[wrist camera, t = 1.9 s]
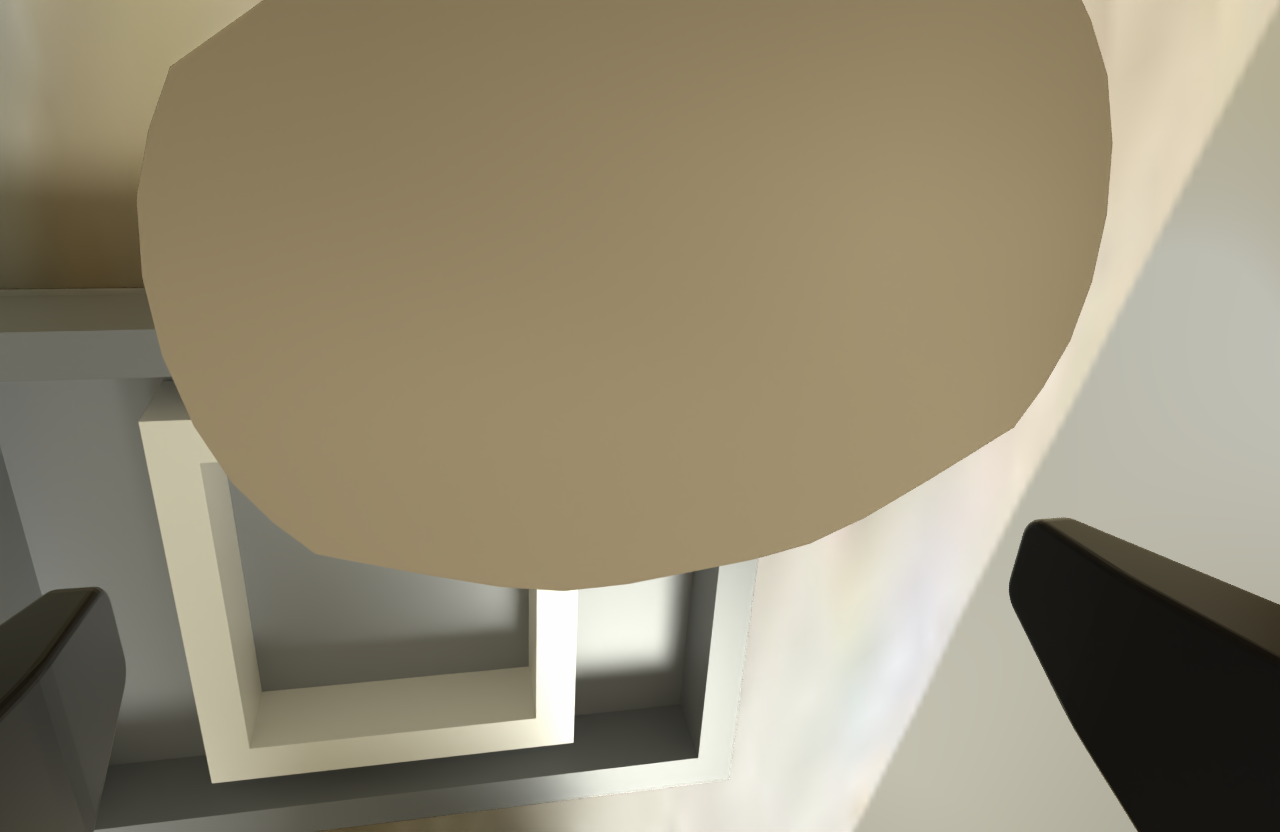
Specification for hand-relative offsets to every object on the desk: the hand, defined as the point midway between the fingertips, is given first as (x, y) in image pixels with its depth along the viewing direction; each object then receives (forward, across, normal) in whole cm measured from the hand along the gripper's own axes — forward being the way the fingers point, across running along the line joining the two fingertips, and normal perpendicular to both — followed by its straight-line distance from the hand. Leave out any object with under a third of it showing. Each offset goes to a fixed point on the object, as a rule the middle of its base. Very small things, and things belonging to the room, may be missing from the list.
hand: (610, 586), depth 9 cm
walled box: (+13, +3, +9) cm, 16 cm away
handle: (+14, 0, -3) cm, 14 cm away
